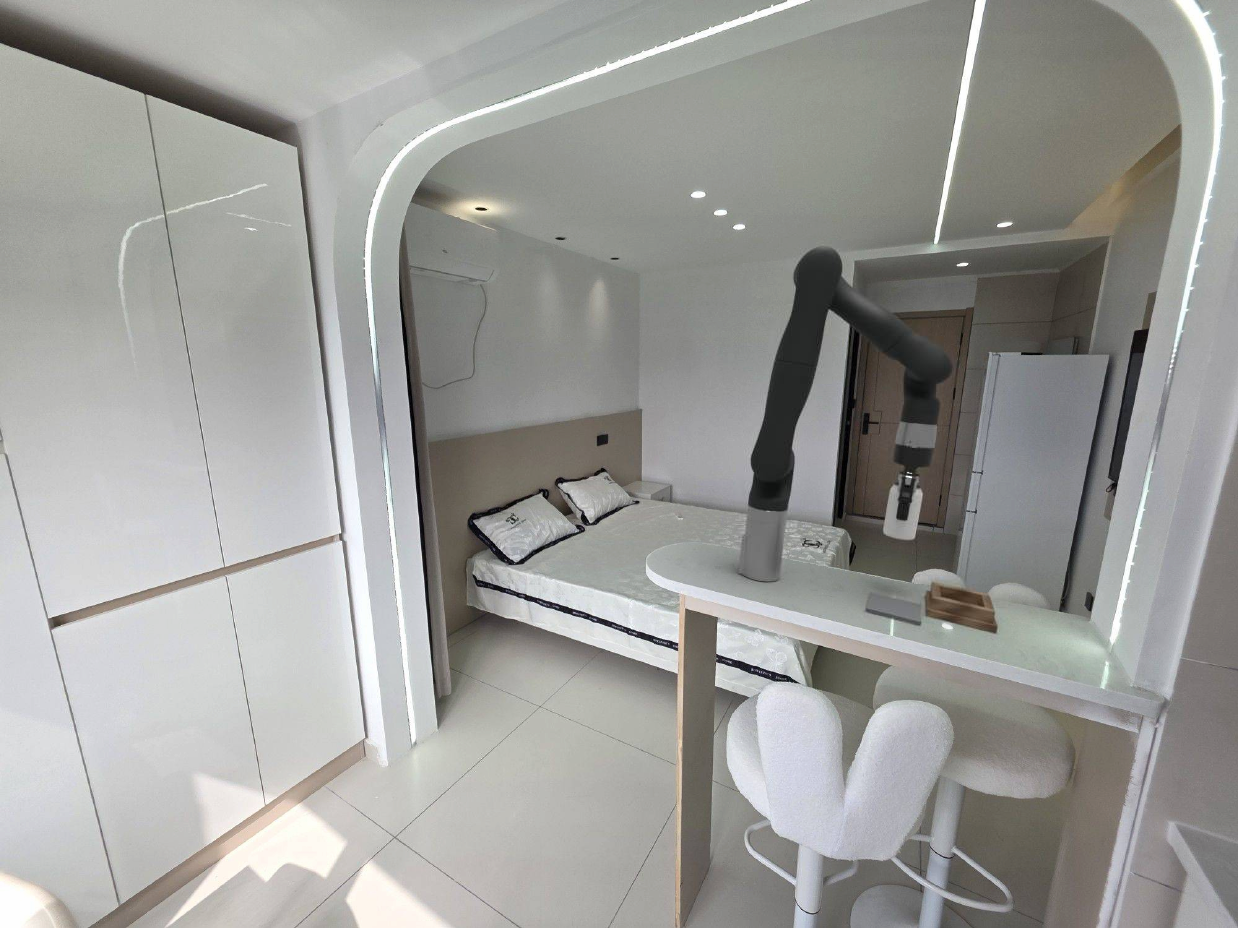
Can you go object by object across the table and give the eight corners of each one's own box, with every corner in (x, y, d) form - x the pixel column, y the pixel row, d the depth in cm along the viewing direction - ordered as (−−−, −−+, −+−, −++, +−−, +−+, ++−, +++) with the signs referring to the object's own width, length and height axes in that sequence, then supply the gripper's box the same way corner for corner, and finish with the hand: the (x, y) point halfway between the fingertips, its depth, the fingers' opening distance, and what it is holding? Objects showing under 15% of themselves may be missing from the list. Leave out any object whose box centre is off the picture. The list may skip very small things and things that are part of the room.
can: (896, 541, 109) (905, 488, 107) (876, 531, 116) (884, 481, 114) (921, 541, 111) (931, 488, 109) (900, 531, 117) (908, 482, 115)
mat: (865, 611, 105) (865, 607, 104) (869, 595, 113) (870, 592, 113) (920, 625, 100) (920, 621, 99) (920, 607, 108) (920, 604, 108)
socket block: (925, 615, 104) (928, 598, 103) (925, 596, 114) (928, 579, 114) (996, 633, 98) (1000, 614, 97) (989, 611, 108) (992, 593, 108)
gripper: (896, 439, 117) (885, 507, 120) (894, 444, 105) (881, 520, 108) (933, 443, 114) (920, 513, 117) (935, 448, 101) (921, 527, 104)
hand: (901, 516), depth 112 cm, fingers closed on can, 6 cm apart
